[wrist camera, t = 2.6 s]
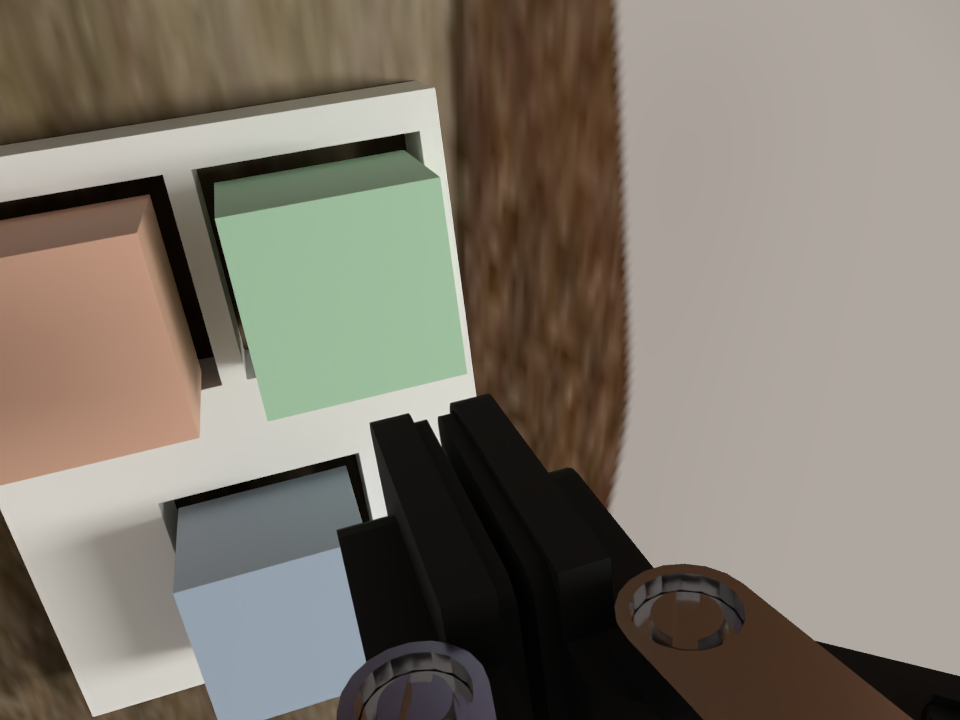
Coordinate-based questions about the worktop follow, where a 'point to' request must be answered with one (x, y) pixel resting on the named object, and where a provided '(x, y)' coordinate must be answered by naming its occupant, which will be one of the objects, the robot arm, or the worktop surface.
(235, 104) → the worktop surface
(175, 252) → the worktop surface
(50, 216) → the terracotta key
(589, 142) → the worktop surface
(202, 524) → the slate key
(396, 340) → the sage key
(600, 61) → the worktop surface
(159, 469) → the key console
